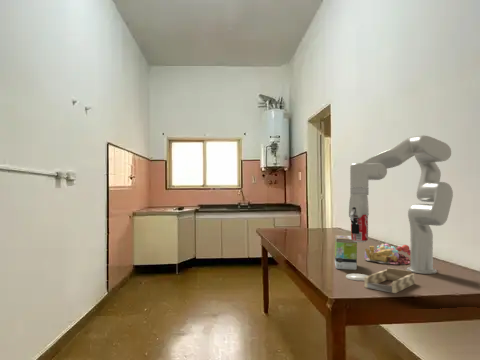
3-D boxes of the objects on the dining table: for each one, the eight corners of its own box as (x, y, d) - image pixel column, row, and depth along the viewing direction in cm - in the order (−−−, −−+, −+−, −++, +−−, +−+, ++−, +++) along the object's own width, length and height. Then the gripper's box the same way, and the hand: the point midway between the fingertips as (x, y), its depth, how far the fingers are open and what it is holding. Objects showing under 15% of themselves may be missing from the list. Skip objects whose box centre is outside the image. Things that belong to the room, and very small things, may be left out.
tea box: (357, 270, 182) (357, 238, 183) (335, 269, 184) (335, 238, 185) (354, 264, 197) (354, 235, 197) (334, 263, 199) (334, 234, 199)
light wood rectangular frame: (385, 278, 165) (385, 267, 165) (414, 283, 157) (414, 271, 157) (364, 287, 150) (364, 274, 150) (395, 293, 142) (395, 279, 142)
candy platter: (405, 267, 190) (405, 249, 190) (358, 261, 204) (358, 244, 205) (417, 260, 210) (417, 243, 210) (373, 255, 224) (373, 239, 225)
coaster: (352, 274, 173) (352, 272, 173) (374, 278, 166) (374, 276, 166) (341, 278, 166) (341, 276, 166) (363, 282, 159) (363, 280, 159)
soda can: (364, 240, 169) (364, 213, 170) (370, 242, 162) (370, 214, 163) (348, 240, 169) (348, 213, 169) (354, 242, 162) (354, 214, 162)
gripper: (360, 191, 175) (360, 230, 175) (341, 191, 162) (341, 233, 162) (376, 191, 170) (376, 231, 170) (358, 191, 157) (358, 235, 157)
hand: (359, 232), depth 166 cm, fingers closed on soda can, 7 cm apart
